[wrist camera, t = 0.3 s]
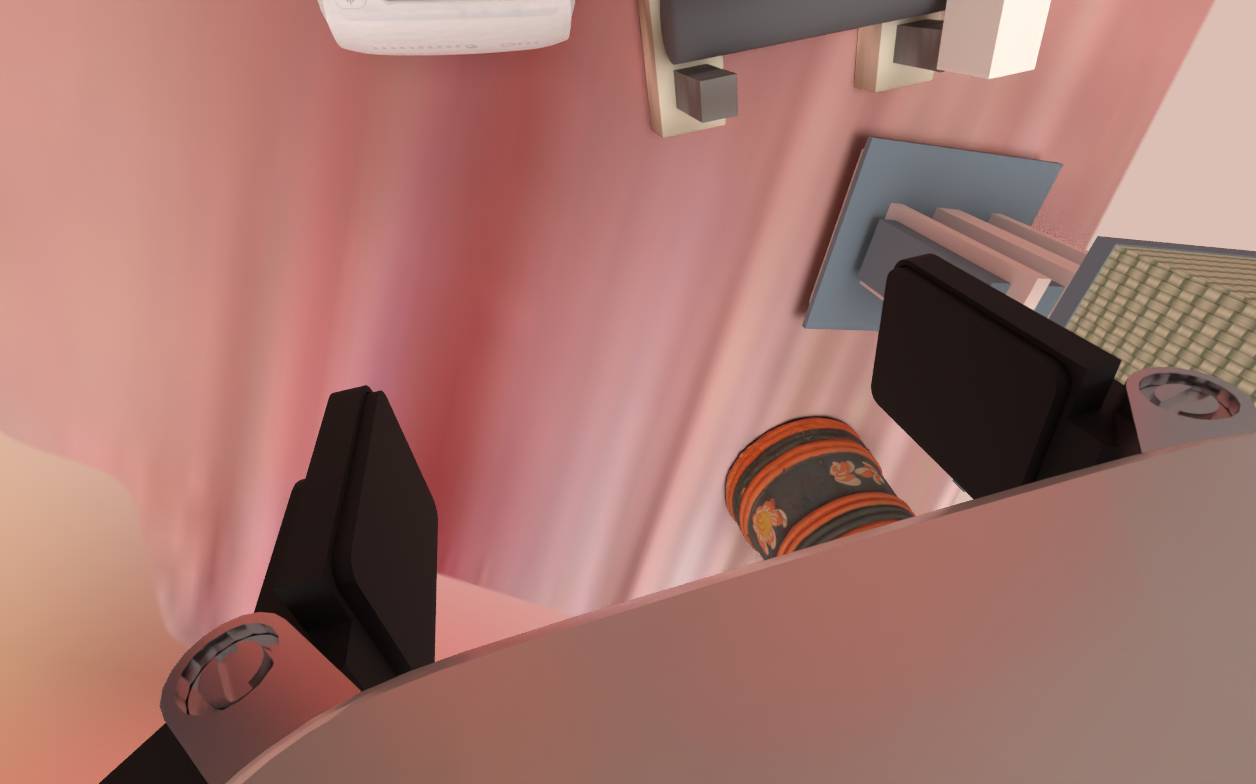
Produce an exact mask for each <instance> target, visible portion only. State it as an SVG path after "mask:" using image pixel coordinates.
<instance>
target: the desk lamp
mask: <svg viewBox="0 0 1256 784" xmlns="http://www.w3.org/2000/svg"><path fill="white" fill-rule="evenodd" d="M1062 166H1063V164H1061V163H1057V162H1050V161H1042V160H1035V159H1028V158H1021V157H1014V156H1007V155H1000V154H993V153H985V152H978V151H971V150H964V149H957V148H950V147H943V146H936V145H928V144H921V143H914V142H907V141H900V140H893V139H886V138H879V137H871V136H868V138H867V141H866V144H865V147H864V149H862V151H861V153H860V156H859V159H858V162H857V165H856V168H855V171H854V173H853V176H852V179H851V182H850V185H849V188H848V191H847V194H846V196H845V199H844V202H843V205H842V208H841V211H840V214H839V217H838V219H837V222H836V225H835V228H834V231H833V234H832V237H831V240H830V242H829V245H828V248H827V251H826V254H825V257H824V260H823V262H822V265H821V268H820V271H819V274H818V277H817V280H816V283H815V285H814V288H813V291H812V294H811V297H810V300H809V303H810V304H809V307H808V310H807V313H806V316H805V319H804V321H803V324H802V326H803V327H804V328H808V329H841V330H875V331H879V327H880V321H881V314H882V307H883V300H884V293H885V286H886V279H887V275H888V273H889V272H890V271H891V270H893V269H894V267H895V265H896V263H897V262H898V261H900V260H902V259H907V258H911V257H915V256H920V255H924V254H929V253H931V254H935V255H937V256H939V257H940V258H942V259H944V260H946V261H947V262H949V263H951V264H953V265H954V266H956V267H958V268H960V269H961V270H963V271H965V272H967V273H969V274H970V275H972V276H974V277H976V278H977V279H979V280H981V281H983V282H984V283H986V284H988V285H990V286H992V287H993V288H995V289H997V290H999V291H1000V292H1002V293H1004V294H1006V295H1007V296H1009V297H1011V298H1013V299H1015V300H1016V301H1018V302H1020V303H1022V304H1023V305H1025V306H1027V307H1029V308H1030V309H1032V310H1034V311H1036V312H1037V313H1039V314H1041V315H1043V316H1045V317H1046V318H1048V319H1050V320H1052V321H1053V322H1055V323H1057V324H1059V325H1060V326H1062V327H1064V328H1066V329H1068V330H1069V331H1071V332H1073V333H1075V334H1076V335H1078V336H1080V337H1082V338H1083V339H1085V340H1087V341H1089V342H1090V343H1092V344H1094V345H1096V346H1098V347H1099V348H1101V349H1103V350H1105V351H1106V352H1108V353H1110V354H1112V355H1113V356H1115V357H1117V358H1119V359H1121V360H1122V361H1121V364H1120V366H1119V368H1118V371H1117V373H1116V375H1115V377H1114V379H1115V380H1117V381H1119V382H1120V383H1122V384H1125V382H1126V380H1127V378H1128V377H1129V376H1130V375H1131V374H1132V373H1133V372H1136V371H1139V370H1142V369H1145V368H1154V367H1172V368H1182V369H1187V370H1192V371H1198V372H1201V373H1204V374H1207V375H1210V376H1214V377H1217V378H1219V379H1221V380H1223V381H1225V382H1227V383H1229V384H1232V385H1234V386H1235V387H1236V388H1238V389H1239V390H1241V391H1242V392H1244V393H1245V394H1246V395H1247V396H1248V397H1249V398H1250V400H1251V401H1252V402H1253V403H1254V405H1255V407H1256V252H1255V251H1246V250H1236V249H1225V248H1215V247H1204V246H1194V245H1184V244H1172V243H1162V242H1153V241H1142V240H1131V239H1121V238H1111V237H1100V236H1098V237H1097V238H1096V240H1095V242H1094V243H1093V245H1092V247H1091V248H1090V250H1089V251H1086V250H1084V249H1082V248H1079V247H1077V246H1075V245H1072V244H1070V243H1068V242H1066V241H1063V240H1061V239H1059V238H1056V237H1054V236H1052V235H1049V234H1047V233H1045V232H1042V231H1040V230H1038V229H1035V228H1033V227H1031V225H1032V223H1033V221H1034V219H1035V217H1036V215H1037V213H1038V211H1039V209H1040V207H1041V206H1042V204H1043V202H1044V200H1045V198H1046V196H1047V194H1048V192H1049V190H1050V188H1051V187H1052V185H1053V183H1054V181H1055V179H1056V177H1057V175H1058V173H1059V171H1060V170H1061V168H1062ZM953 482H954V483H955V484H956V485H957V486H958V487H959V488H960V489H961V490H962V491H963V492H965V490H964V489H963V488H962V487H961V486H960V485H959V484H958V483H957V482H956V481H955V480H954V479H953Z"/></svg>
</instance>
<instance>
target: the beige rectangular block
mask: <svg viewBox="0 0 1256 784" xmlns="http://www.w3.org/2000/svg"><path fill="white" fill-rule="evenodd" d="M1050 2H1051V0H947V3H946V10H945V16H944V23H943V29H942V36H941V43H940V49H939V56H938V62H937V69H938V70H943V71H948V72H953V73H959V74H964V75H969V76H974V77H979V78H984V79H992V78H997V77H1001V76H1006V75H1010V74H1015V73H1020V72H1024V71H1029V70H1033V69H1035V65H1036V61H1037V57H1038V52H1039V48H1040V44H1041V40H1042V36H1043V32H1044V27H1045V23H1046V19H1047V15H1048V11H1049V7H1050Z"/></svg>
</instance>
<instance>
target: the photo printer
mask: <svg viewBox="0 0 1256 784" xmlns="http://www.w3.org/2000/svg"><path fill="white" fill-rule="evenodd" d="M318 3H319V6H320V9H321V12H322V14H323V16H324V18H325V19H326V21H327V23H328V25H329V28H330V30H331V32H332V34H333V36H334V38H335V40H336V42H337V44H338V45H339V46H340V47H341V48H343V49H347V50H351V51H355V52H360V53H366V54H376V55H458V54H480V53H495V52H508V51H519V50H529V49H537V48H543V47H547V46H551V45H555V44H558V43H560V42H563V41H565V40H567V39H568V38H569V35H570V29H571V17H572V14H573V11H574V6H575V0H318Z"/></svg>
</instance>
